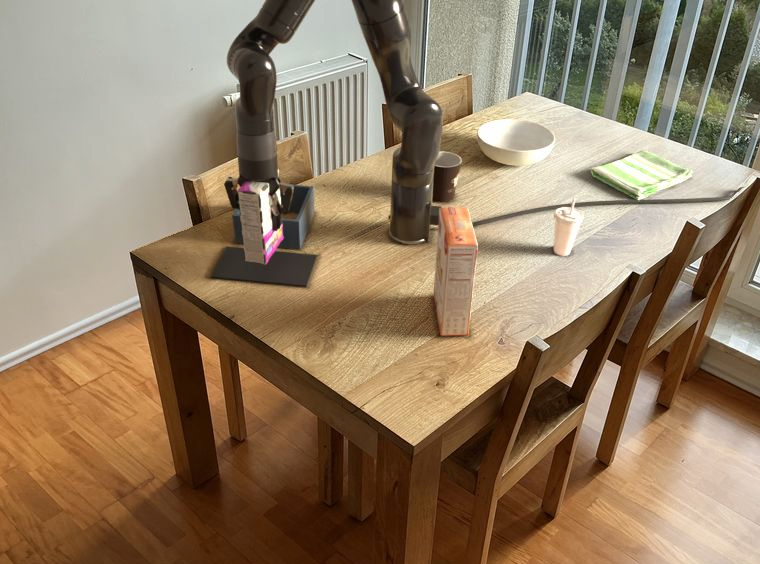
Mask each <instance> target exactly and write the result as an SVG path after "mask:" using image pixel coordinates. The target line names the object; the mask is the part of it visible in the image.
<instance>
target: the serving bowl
mask: <svg viewBox="0 0 760 564" xmlns="http://www.w3.org/2000/svg"><path fill="white" fill-rule="evenodd" d="M476 136H477V137H476V138H477V143H478V146H479V148H480V150H481V152H483V154H484V155H486V156H487V158H489V159H491V160H492V161H495V162H496V163H500V164H503V165H508V166H517V167H519V166H528V165H529V166H530V165H533V164H537V163H539V162H540V161H542V160H544V159H546V157H548V156H549V154H550V153H551V151H552V150H553V147H554V145H555V142H556V137H555V134H554V133H553V131H552V130H550V129H549V128H548V127H546V126H544V125H542V124H540V123H537V122H534V121H529V120H524V119H515V118H502V119H495V120H490V121H488V122H484V123H483V124H482V125H480V126H479V127H478V129H477V131H476Z"/></svg>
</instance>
